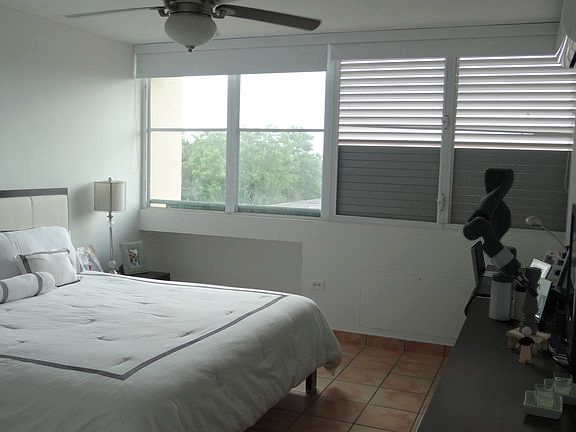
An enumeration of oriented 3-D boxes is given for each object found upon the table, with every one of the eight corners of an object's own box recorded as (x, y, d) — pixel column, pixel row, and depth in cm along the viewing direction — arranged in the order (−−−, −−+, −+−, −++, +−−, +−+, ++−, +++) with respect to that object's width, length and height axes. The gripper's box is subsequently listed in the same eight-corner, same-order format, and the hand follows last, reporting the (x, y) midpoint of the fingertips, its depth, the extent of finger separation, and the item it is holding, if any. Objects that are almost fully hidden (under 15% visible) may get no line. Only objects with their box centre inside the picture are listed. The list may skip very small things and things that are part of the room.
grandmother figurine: (528, 359, 218) (531, 324, 217) (536, 363, 214) (539, 327, 213) (511, 361, 215) (514, 326, 214) (519, 364, 211) (522, 329, 210)
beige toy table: (518, 342, 239) (519, 327, 239) (549, 349, 231) (550, 334, 230) (505, 347, 231) (506, 332, 230) (536, 355, 222) (538, 339, 222)
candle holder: (536, 336, 227) (542, 270, 224) (519, 333, 229) (524, 268, 226) (536, 332, 233) (541, 267, 230) (518, 329, 235) (524, 266, 232)
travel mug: (533, 322, 272) (536, 282, 270) (515, 321, 272) (518, 281, 271) (526, 317, 280) (530, 279, 278) (509, 316, 280) (512, 278, 278)
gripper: (515, 257, 223) (546, 291, 221) (511, 252, 236) (540, 284, 235) (499, 270, 224) (529, 304, 223) (496, 264, 238) (524, 296, 236)
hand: (535, 294), depth 229 cm, fingers open, 8 cm apart
